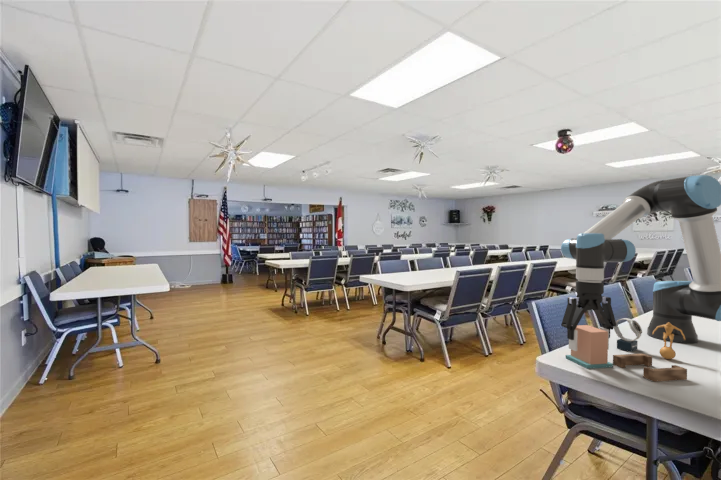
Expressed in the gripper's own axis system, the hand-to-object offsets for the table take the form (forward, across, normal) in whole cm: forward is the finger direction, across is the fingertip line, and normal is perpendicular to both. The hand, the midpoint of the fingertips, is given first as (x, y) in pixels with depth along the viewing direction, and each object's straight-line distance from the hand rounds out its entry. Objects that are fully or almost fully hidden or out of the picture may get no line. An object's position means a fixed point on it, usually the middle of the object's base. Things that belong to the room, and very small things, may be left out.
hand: (588, 348), depth 110 cm
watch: (+5, -25, -10) cm, 27 cm away
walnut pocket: (+4, -12, +9) cm, 16 cm away
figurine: (+5, -30, 0) cm, 30 cm away
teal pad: (+4, 0, 0) cm, 4 cm away
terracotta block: (+3, 0, 0) cm, 3 cm away
